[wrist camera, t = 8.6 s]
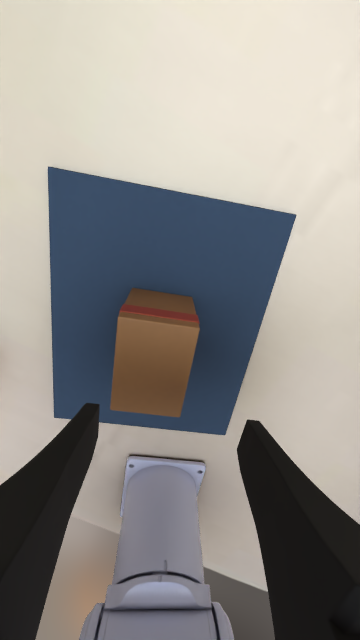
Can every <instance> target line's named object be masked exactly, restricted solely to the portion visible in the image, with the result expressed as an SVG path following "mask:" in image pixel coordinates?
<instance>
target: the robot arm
mask: <svg viewBox="0 0 360 640" xmlns="http://www.w3.org/2000/svg"><path fill="white" fill-rule="evenodd" d="M99 409H100V404H94V403H86V404H84V405H83V406H82V408H81V409H80V410H79V411H78V413H77V414H76V415H75V416H74V417H73V419H72V420H71V421H70V422H69V423H68V424H67V425H66V426H65V427H64V428H63V430H62V431H61V432H60V433H59V434H58V435H57V436H56V437H55V438H54V439H53V440H52V441H51V442H50V443H49V444H48V445H47V446H46V447H45V448H44V449H43V450H42V451H41V452H40V453H38V454H37V455H36V456H35V457H34V458H33V459H32V460H31V461H30V462H28V463H27V464H26V465H25V466H24V467H23V468H21V469H20V470H19V471H18V472H17V473H15V474H14V475H13V476H12V477H10V478H9V479H8V480H6V481H5V482H4V483H3V484H1V485H0V640H35V639H36V635H37V631H38V627H39V623H40V620H41V616H42V612H43V609H44V605H45V601H46V598H47V594H48V590H49V586H50V583H51V579H52V576H53V573H54V569H55V565H56V562H57V558H58V555H59V551H60V548H61V545H62V541H63V538H64V534H65V531H66V528H67V524H68V521H69V518H70V515H71V512H72V510H73V507H74V504H75V502H76V499H77V497H78V494H79V491H80V489H81V486H82V484H83V481H84V478H85V476H86V473H87V470H88V468H89V465H90V463H91V460H92V457H93V453H94V449H95V446H96V442H97V438H98V427H99ZM237 454H238V460H239V466H240V472H241V476H242V479H243V483H244V486H245V490H246V494H247V497H248V501H249V504H250V508H251V511H252V515H253V518H254V522H255V525H256V530H257V534H258V538H259V544H260V549H261V554H262V559H263V564H264V570H265V576H266V582H267V587H268V593H269V599H270V607H271V613H272V619H273V626H274V634H275V640H360V525H359V524H358V523H357V522H356V521H354V520H353V519H352V518H351V517H350V516H349V515H347V514H346V513H345V512H344V511H343V510H341V509H340V508H339V507H338V506H337V505H336V504H335V503H334V502H332V501H331V500H330V499H329V498H328V497H327V496H326V495H325V494H324V493H323V492H322V491H321V490H320V489H319V488H318V487H317V486H316V485H315V484H314V483H313V482H312V481H311V480H310V479H309V478H308V477H307V476H306V475H305V474H304V473H303V472H302V471H301V470H300V469H299V468H298V467H297V465H296V464H295V463H294V462H293V461H292V460H291V459H290V458H289V456H288V455H287V454H286V453H285V452H284V451H283V449H282V448H281V447H280V446H279V445H278V443H277V442H276V441H275V440H274V439H273V437H272V436H271V435H270V434H269V432H268V431H267V430H266V429H265V428H264V426H263V425H262V424H261V423H260V422H259V421H255V420H247V422H246V424H245V427H244V430H243V433H242V436H241V439H240V442H239V445H238V448H237ZM205 469H206V466H205V464H204V463H202V462H193V461H183V460H172V459H161V458H150V457H139V456H129V457H128V458H127V464H126V471H125V479H124V487H123V495H122V502H121V510H120V516H121V517H123V518H122V524H121V530H120V538H119V543H118V550H117V556H116V563H115V569H114V575H113V581H112V585H108V588H107V594H106V600H105V603H97V604H96V605H95V607H94V608H93V610H92V611H91V612H90V613H89V615H88V616H87V617H86V619H85V622H84V624H83V628H82V631H81V634H80V638H79V640H234V636H233V632H232V628H231V624H230V621H229V618H228V616H227V614H226V613H225V612H224V610H223V609H222V607H221V605H220V604H219V603H218V602H211V596H210V586H209V585H208V584H204V573H203V562H202V550H201V539H200V528H199V517H198V505H197V495H198V492H199V489H200V486H201V482H202V479H203V476H204V472H205Z"/></svg>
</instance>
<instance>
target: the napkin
mask: <svg viewBox="0 0 360 640" xmlns="http://www.w3.org/2000/svg"><path fill="white" fill-rule="evenodd" d="M48 191H49V232H50V272H51V312H52V352H53V392H54V418H63V419H73V417H74V416H75V415H76V414H77V413H78V411H79V410H80V409H81V408H82V406H83V405H84V404H86V403H94V404H100V409H99V422H102V423H111V424H121V425H131V426H140V427H150V428H160V429H169V430H179V431H188V432H198V433H208V434H217V435H225V434H226V431H227V428H228V425H229V421H230V418H231V415H232V412H233V409H234V406H235V403H236V400H237V397H238V394H239V391H240V388H241V384H242V381H243V378H244V375H245V372H246V369H247V366H248V363H249V360H250V357H251V354H252V351H253V347H254V344H255V341H256V338H257V335H258V332H259V329H260V326H261V323H262V320H263V317H264V313H265V310H266V307H267V304H268V301H269V298H270V295H271V292H272V289H273V286H274V283H275V280H276V276H277V273H278V270H279V267H280V264H281V261H282V258H283V255H284V252H285V249H286V246H287V242H288V239H289V236H290V233H291V230H292V227H293V224H294V221H295V218H296V215H294V214H289V213H284V212H279V211H274V210H269V209H264V208H258V207H253V206H248V205H243V204H238V203H233V202H228V201H222V200H217V199H212V198H207V197H202V196H197V195H191V194H186V193H181V192H176V191H171V190H166V189H161V188H155V187H150V186H145V185H140V184H135V183H130V182H125V181H119V180H114V179H109V178H104V177H99V176H94V175H88V174H83V173H78V172H73V171H68V170H63V169H58V168H52V167H48ZM132 288H137V289H144V290H150V291H157V292H163V293H170V294H176V295H182V296H189V297H192V298H193V302H194V307H195V311H196V315H198V319H199V323H200V324H199V328H200V331H199V335H198V339H197V344H196V348H195V353H194V357H193V362H192V366H191V371H190V375H189V380H188V384H187V389H186V393H185V397H184V402H183V406H182V411H181V415H180V417H170V416H161V415H152V414H143V413H134V412H124V411H115V410H110V404H111V392H112V380H113V368H114V356H115V344H116V333H117V321H118V316H119V311H120V309H121V307H122V305H123V304H125V302H126V299H127V297H128V295H129V293H130V291H131V289H132Z"/></svg>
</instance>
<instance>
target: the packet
mask: <svg viewBox="0 0 360 640" xmlns="http://www.w3.org/2000/svg"><path fill="white" fill-rule="evenodd" d="M199 324H200V323H199V319H198V315H196V311H195V307H194V302H193V298H192V297H189V296H182V295H176V294H170V293H163V292H157V291H150V290H144V289H137V288H132V289H131V291H130V293H129V295H128V297H127V299H126V302H125V304H123V305H122V307H121V309H120V311H119V316H118V321H117V333H116V344H115V356H114V368H113V380H112V392H111V404H110V410H115V411H124V412H134V413H143V414H152V415H161V416H170V417H180V415H181V411H182V406H183V402H184V397H185V393H186V389H187V384H188V380H189V375H190V371H191V366H192V362H193V357H194V353H195V348H196V344H197V339H198V335H199V331H200V328H199Z"/></svg>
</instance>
